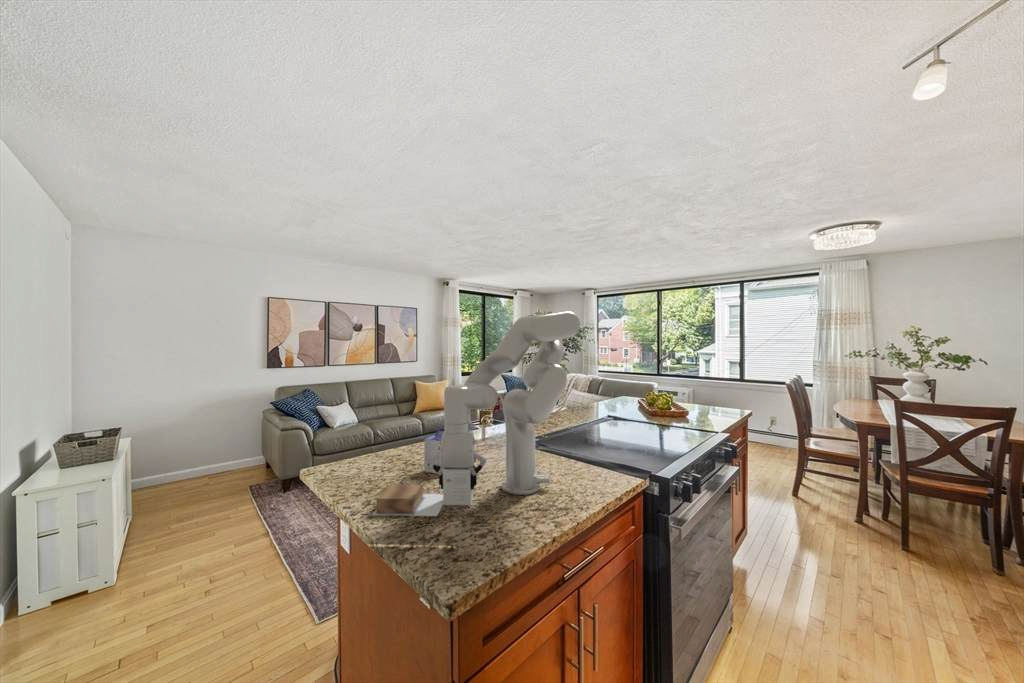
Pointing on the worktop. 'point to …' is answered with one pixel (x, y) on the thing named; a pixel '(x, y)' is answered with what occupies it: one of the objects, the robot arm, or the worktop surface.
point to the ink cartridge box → (431, 451)
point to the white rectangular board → (424, 506)
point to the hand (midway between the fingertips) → (457, 487)
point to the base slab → (399, 498)
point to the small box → (457, 486)
